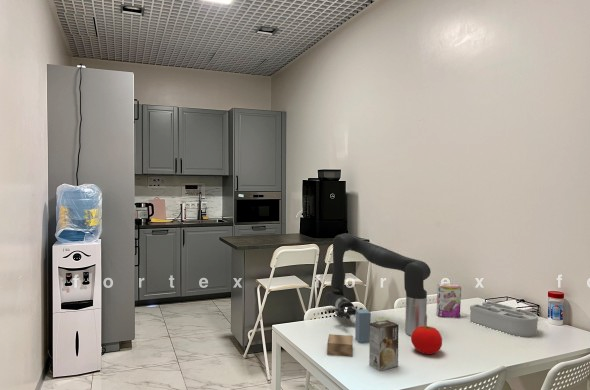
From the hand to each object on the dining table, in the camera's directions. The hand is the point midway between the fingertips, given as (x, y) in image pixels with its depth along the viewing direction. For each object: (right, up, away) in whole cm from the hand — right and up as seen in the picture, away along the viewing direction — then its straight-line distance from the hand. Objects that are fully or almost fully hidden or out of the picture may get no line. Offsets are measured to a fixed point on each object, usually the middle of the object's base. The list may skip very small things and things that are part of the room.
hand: (355, 317), depth 194 cm
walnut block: (-9, -8, -21) cm, 25 cm away
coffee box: (+6, -8, -35) cm, 36 cm away
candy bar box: (+52, -7, +26) cm, 59 cm away
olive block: (+8, -8, -21) cm, 24 cm away
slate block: (+2, -7, -10) cm, 13 cm away
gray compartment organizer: (+74, -8, +10) cm, 75 cm away
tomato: (+26, -8, -21) cm, 35 cm away
